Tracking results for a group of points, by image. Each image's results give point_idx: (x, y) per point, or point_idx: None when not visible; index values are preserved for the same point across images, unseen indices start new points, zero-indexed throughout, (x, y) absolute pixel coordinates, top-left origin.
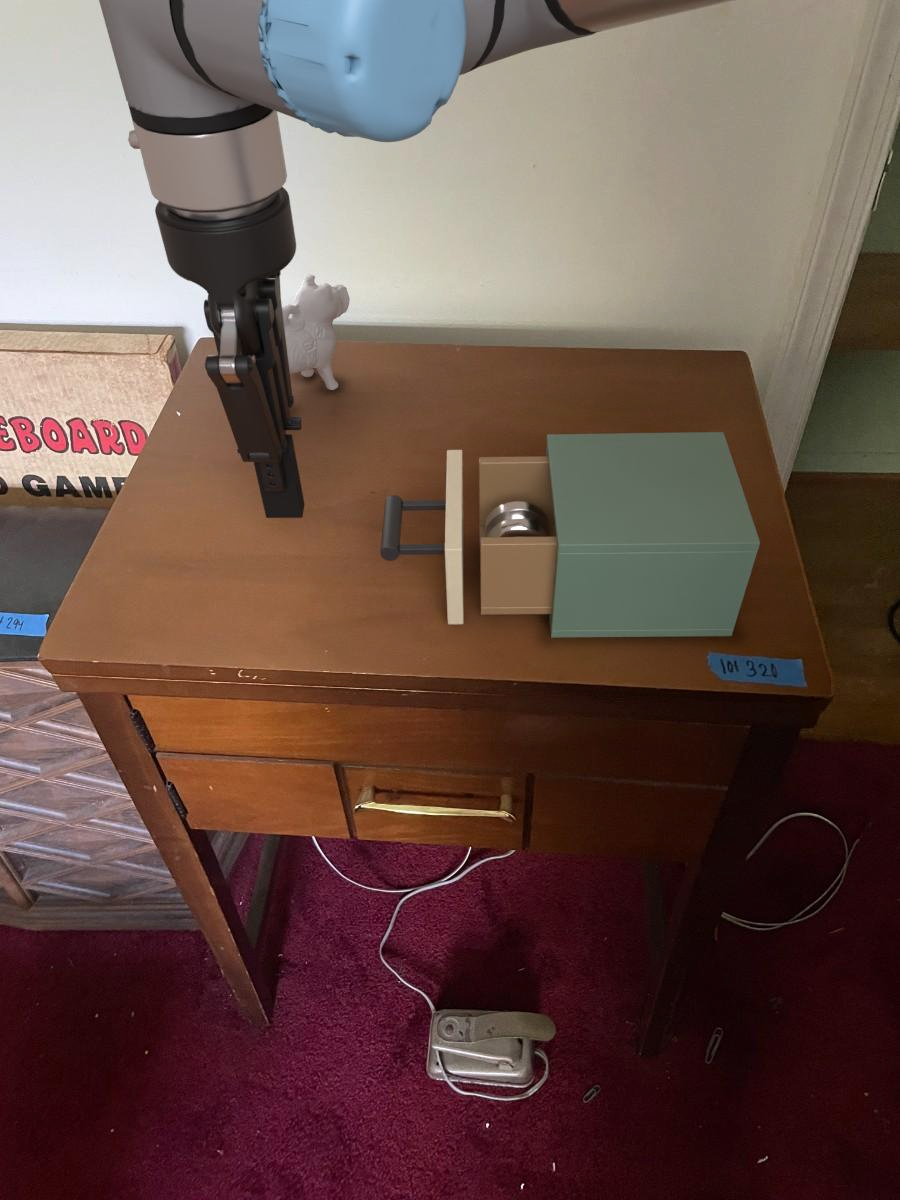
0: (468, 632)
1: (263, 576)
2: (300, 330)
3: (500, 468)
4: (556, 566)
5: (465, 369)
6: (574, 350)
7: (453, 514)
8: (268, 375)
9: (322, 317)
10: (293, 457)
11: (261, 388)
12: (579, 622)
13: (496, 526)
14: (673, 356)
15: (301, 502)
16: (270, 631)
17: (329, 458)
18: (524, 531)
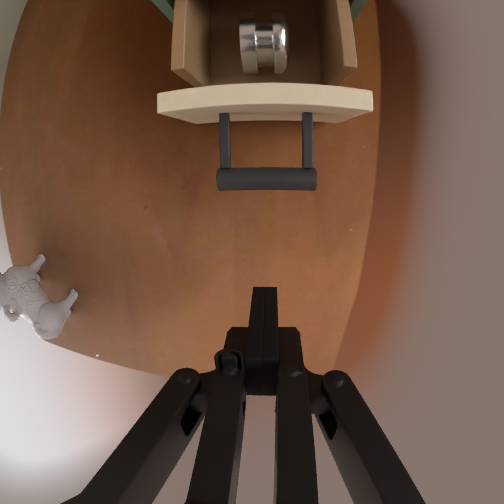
0: None
1: None
2: (17, 300)
3: (187, 46)
4: (359, 6)
5: (14, 156)
6: (5, 83)
7: (304, 94)
8: (317, 498)
9: (2, 285)
10: (263, 337)
11: (395, 499)
12: None
13: (277, 54)
14: (23, 21)
15: (267, 294)
16: (325, 276)
17: (109, 251)
18: (288, 26)
